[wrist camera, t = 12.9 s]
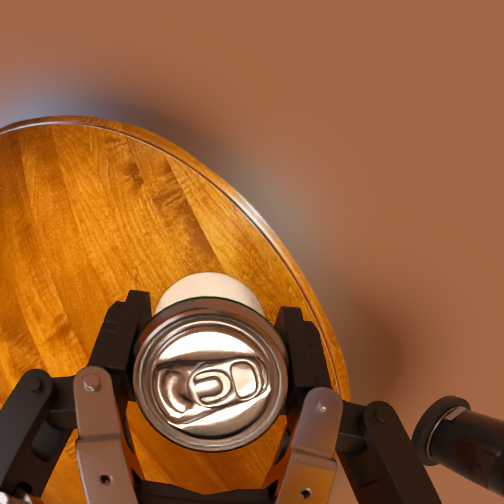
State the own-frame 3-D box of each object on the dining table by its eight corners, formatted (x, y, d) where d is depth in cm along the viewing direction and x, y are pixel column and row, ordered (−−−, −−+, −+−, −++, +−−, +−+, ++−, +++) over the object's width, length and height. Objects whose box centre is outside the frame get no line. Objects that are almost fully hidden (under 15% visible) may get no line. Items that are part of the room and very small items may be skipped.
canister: (270, 306, 32) (286, 307, 25) (226, 381, 30) (231, 402, 23) (193, 261, 32) (189, 250, 25) (149, 336, 30) (133, 346, 23)
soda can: (163, 308, 19) (99, 315, 7) (237, 291, 20) (278, 275, 8) (182, 381, 18) (152, 474, 7) (255, 364, 19) (316, 437, 8)
